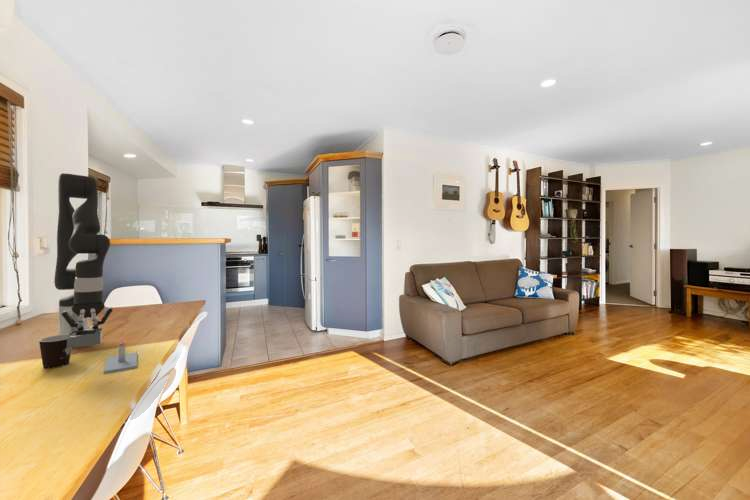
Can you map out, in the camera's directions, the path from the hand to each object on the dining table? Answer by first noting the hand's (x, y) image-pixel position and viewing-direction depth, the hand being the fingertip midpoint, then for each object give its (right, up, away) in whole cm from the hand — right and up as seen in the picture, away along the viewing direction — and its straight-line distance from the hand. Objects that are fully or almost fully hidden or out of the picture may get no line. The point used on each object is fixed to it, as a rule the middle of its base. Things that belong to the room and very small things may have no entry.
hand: (87, 336), depth 106 cm
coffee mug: (-13, -11, +3) cm, 17 cm away
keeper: (+8, -12, +5) cm, 15 cm away
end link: (+2, -1, -2) cm, 3 cm away
